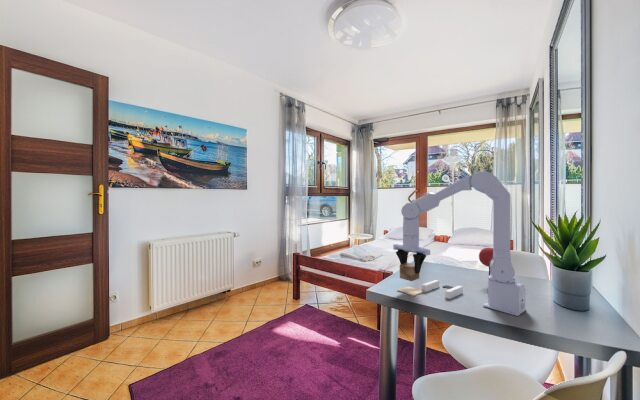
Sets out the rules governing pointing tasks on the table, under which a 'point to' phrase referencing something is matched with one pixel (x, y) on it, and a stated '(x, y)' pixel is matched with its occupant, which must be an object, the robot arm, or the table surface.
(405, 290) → the pad
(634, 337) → the table surface
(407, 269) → the block
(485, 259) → the lollipop
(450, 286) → the trap pad
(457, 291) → the channel
